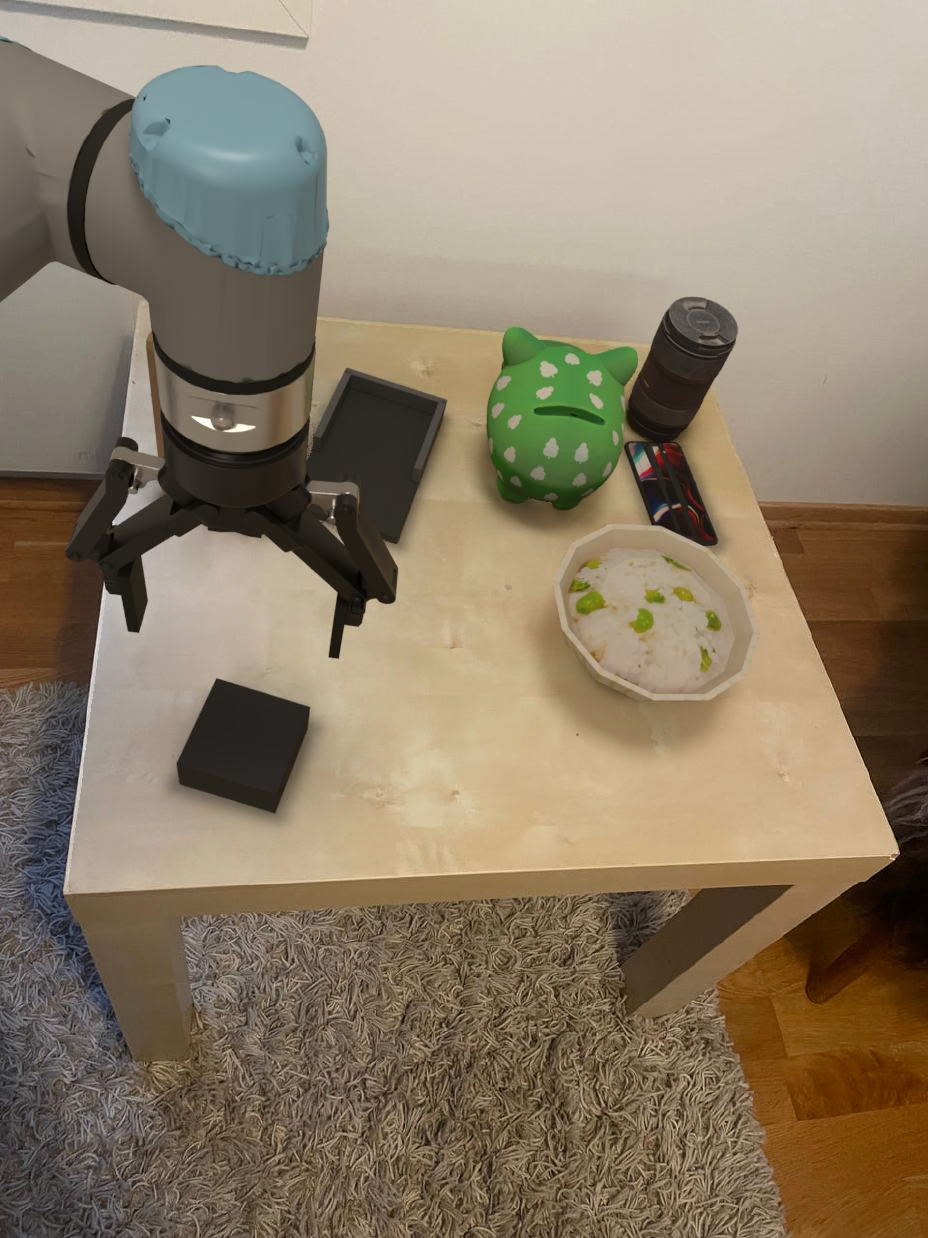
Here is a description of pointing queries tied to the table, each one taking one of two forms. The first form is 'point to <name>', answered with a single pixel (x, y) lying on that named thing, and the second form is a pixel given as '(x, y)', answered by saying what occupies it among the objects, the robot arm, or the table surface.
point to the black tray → (376, 445)
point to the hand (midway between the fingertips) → (238, 629)
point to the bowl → (654, 614)
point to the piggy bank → (556, 418)
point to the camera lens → (680, 367)
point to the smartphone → (670, 490)
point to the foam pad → (243, 745)
